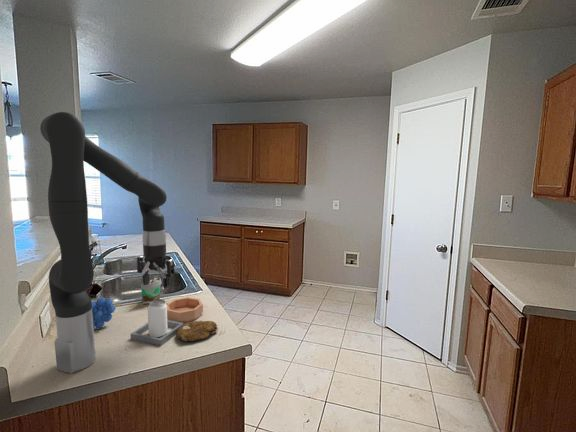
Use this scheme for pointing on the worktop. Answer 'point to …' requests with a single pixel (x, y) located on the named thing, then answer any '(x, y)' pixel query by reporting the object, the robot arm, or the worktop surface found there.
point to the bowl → (184, 309)
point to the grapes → (102, 312)
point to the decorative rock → (196, 330)
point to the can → (157, 318)
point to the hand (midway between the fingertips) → (156, 285)
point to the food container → (151, 290)
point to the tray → (153, 340)
